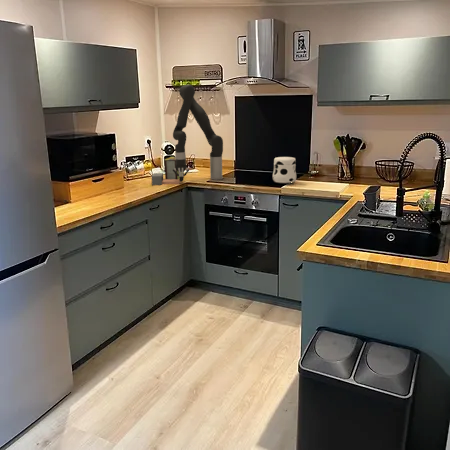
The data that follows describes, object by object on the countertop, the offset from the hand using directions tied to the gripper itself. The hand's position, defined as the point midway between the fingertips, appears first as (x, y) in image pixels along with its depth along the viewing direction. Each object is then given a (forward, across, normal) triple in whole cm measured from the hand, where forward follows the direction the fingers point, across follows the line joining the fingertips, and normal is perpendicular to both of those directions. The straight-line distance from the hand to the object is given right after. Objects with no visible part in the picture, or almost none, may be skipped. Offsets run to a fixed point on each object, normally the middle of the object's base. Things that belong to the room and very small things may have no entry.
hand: (181, 181), depth 337 cm
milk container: (+2, -76, +6) cm, 76 cm away
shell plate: (+2, +8, 0) cm, 8 cm away
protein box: (+1, +7, -20) cm, 22 cm away
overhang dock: (+1, +18, 0) cm, 18 cm away
